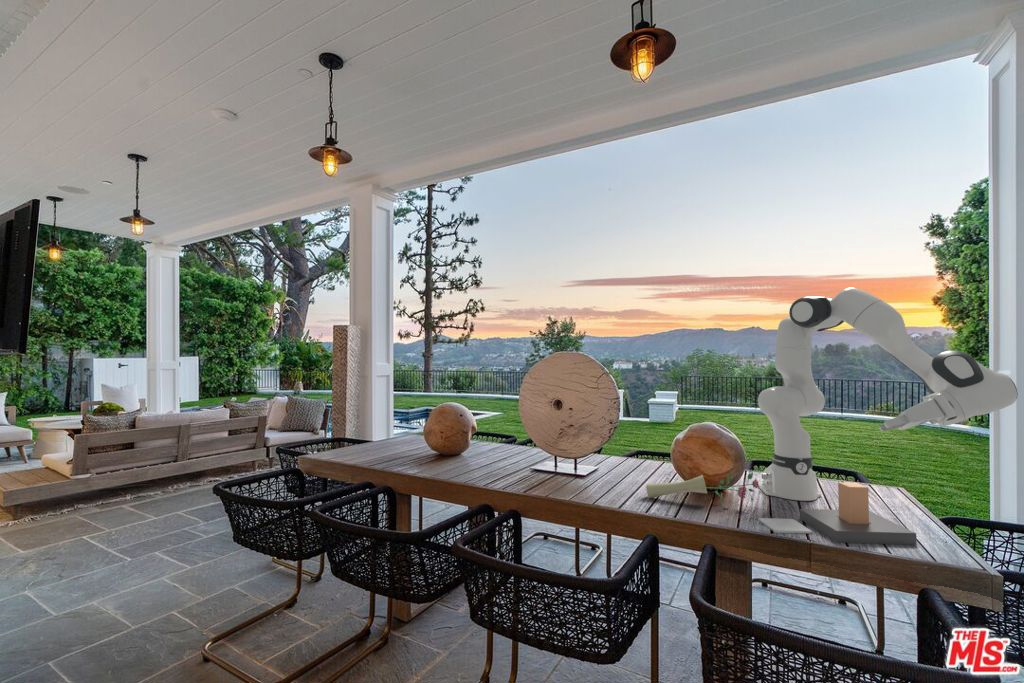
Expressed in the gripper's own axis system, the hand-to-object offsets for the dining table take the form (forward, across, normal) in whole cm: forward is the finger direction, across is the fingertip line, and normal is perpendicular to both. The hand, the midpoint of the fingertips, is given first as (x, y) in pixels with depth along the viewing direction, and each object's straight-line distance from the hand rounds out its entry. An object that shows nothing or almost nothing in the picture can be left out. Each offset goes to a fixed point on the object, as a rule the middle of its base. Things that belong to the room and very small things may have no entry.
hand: (882, 426), depth 131 cm
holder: (+19, -4, +24) cm, 31 cm away
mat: (+35, +2, +18) cm, 40 cm away
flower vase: (+57, -7, +6) cm, 57 cm away
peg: (+19, -4, +24) cm, 31 cm away
